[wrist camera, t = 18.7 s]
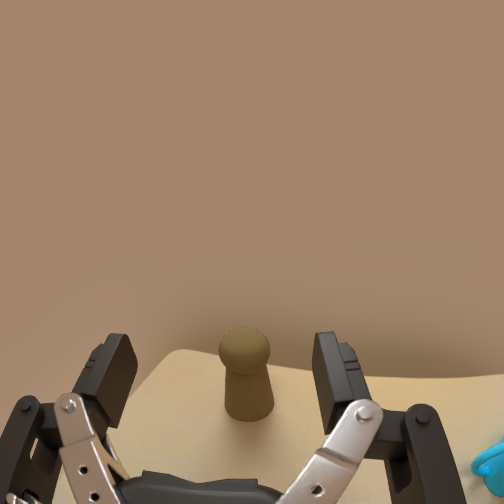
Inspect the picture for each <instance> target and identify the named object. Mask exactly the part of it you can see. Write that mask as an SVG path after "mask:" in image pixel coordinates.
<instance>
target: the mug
mask: <svg viewBox="0 0 504 504" xmlns="http://www.w3.org/2000/svg"><path fill="white" fill-rule="evenodd" d="M483 463H485V464H484V466H480V465H482V464H483ZM471 470H472V472H473V473H474V474H476V475H482V476H484V479H485V483H486V485H487V487H488V489H489V490H490V491H491V492H492V493H493V494H495V495H497V496H500V497H504V438H503V439H502V440H501V441H500V442H499V443H498V444H497V445H496V446H494V447H492V448H490V449H488V450H486V451H484V452H483V453H482V454H480V455H479V456H478V457H476V458H475V460H474V461H473V462H472V464H471Z"/></svg>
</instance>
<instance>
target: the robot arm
mask: <svg viewBox="0 0 504 504" xmlns="http://www.w3.org/2000/svg"><path fill="white" fill-rule="evenodd" d="M137 368H138V363H137V358H136V355H135V353H134V351H133V348H132V345H131V342H130V340H129V337H128V336H127V335H126V334H115V333H111V334H109V335H108V337H107V339H106V341H105V343H104V344H100V345H99V346H98V347H96V348H95V349H94V350H93V351H92V353H91V355H90V357H89V360H88V361H87V363H86V365H85V368H84V369H83V371H82V372H81V375H80V376H79V378H78V380H77V382H76V384H75V386H74V388H73V390H72V392H71V393H66V394H63V395H61V396H60V397H59V398H58V399H57V400H56V402H55V403H43V404H40V402H39V401H38V400H37V398H36V397H34V396H31V395H28V396H24V397H22V398H21V399H20V400H18V402H17V403H16V405H15V407H14V409H13V411H12V413H11V416H10V418H9V420H8V422H7V424H6V426H5V429H4V431H3V433H2V435H1V438H0V504H52V500H53V496H54V492H55V488H56V484H57V480H58V477H59V473H60V469H61V466H62V463H63V466H64V470H65V473H66V476H67V479H68V482H69V484H70V487H71V490H72V493H73V495H74V498H75V500H76V503H77V504H336V503H337V501H338V500H339V498H340V497H341V495H342V494H343V492H344V491H345V489H346V487H347V486H348V484H349V483H350V481H351V479H352V478H353V476H354V474H355V472H356V471H357V469H358V467H359V465H360V463H361V461H362V459H363V458H366V459H379V460H384V464H385V469H386V474H387V479H388V485H389V490H390V496H391V502H392V504H467V503H466V499H465V495H464V492H463V488H462V484H461V481H460V477H459V474H458V471H457V467H456V464H455V461H454V458H453V455H452V452H451V449H450V446H449V443H448V440H447V437H446V434H445V432H444V429H443V426H442V423H441V421H440V418H439V415H438V413H437V412H436V410H435V409H434V408H433V407H431V406H429V405H427V404H416V405H413V406H411V407H410V408H409V409H408V410H407V412H402V411H390V410H385V409H383V408H381V407H380V406H379V405H378V404H377V403H376V402H374V401H373V400H372V398H371V396H370V393H369V390H368V387H367V384H366V381H365V378H364V376H363V373H362V370H361V367H360V365H359V362H358V359H357V356H356V354H355V351H354V350H353V349H352V348H351V347H350V345H349V344H348V343H347V342H345V343H338V342H337V339H336V336H335V333H334V332H333V331H332V332H320V333H316V334H315V339H314V348H313V356H312V370H313V376H314V381H315V386H316V391H317V396H318V401H319V406H320V411H321V417H322V422H323V427H324V433H325V435H328V434H330V435H329V437H328V438H327V440H326V441H325V443H324V444H323V446H322V447H321V448H320V449H318V450H317V451H316V452H315V453H314V455H313V456H312V457H311V459H310V460H309V461H308V463H307V464H306V465H305V467H304V468H303V469H302V471H301V472H300V473H299V475H298V476H297V477H296V479H295V480H294V481H293V482H292V484H291V485H290V486H289V487H288V489H287V490H286V491H285V492H284V493H281V492H279V491H278V490H275V489H273V488H270V487H267V486H263V485H258V480H257V479H223V480H218V481H212V482H205V483H193V482H190V481H187V480H184V479H181V478H178V477H176V476H173V475H170V474H164V473H157V472H151V471H145V470H143V472H142V476H140V477H134V478H130V477H129V475H128V474H127V472H126V471H125V470H124V468H123V466H122V464H121V462H120V460H119V458H118V456H117V454H116V452H115V450H114V448H113V445H112V443H111V441H110V439H109V436H108V434H107V433H106V431H107V428H108V427H112V428H118V425H119V422H120V418H121V415H122V412H123V410H124V407H125V404H126V401H127V398H128V394H129V392H130V389H131V386H132V384H133V381H134V378H135V375H136V373H137ZM35 438H37V439H38V442H37V445H36V448H35V450H34V454H33V456H32V459H30V452H31V449H32V446H33V444H34V441H35Z"/></svg>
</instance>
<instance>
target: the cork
mask: <svg viewBox="0 0 504 504" xmlns="http://www.w3.org/2000/svg"><path fill="white" fill-rule="evenodd" d="M219 356H220V359H221V361H222V363H223V364H224V366H225V367H226V379H225V408H226V410H227V412H228V413H229V414H230V415H231V416H232V417H234V418H235V419H237V420H241V421H245V422H248V421H256V420H260V419H262V418H264V417H265V416H267V415H268V414H269V413H270V412H271V410H272V408H273V406H274V397H273V393H272V388H271V384H270V380H269V375H268V371H267V366H266V363H267V361H268V359H269V356H270V343H269V341H268V339H267V337H266V336H265V335H264V334H263V333H262V332H261V331H259V330H257V329H255V328H251V327H239V328H235V329H232V330H230V331H228V332H227V333H226V334H225V335H224V336H223V338H222V339H221V341H220V344H219Z"/></svg>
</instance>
